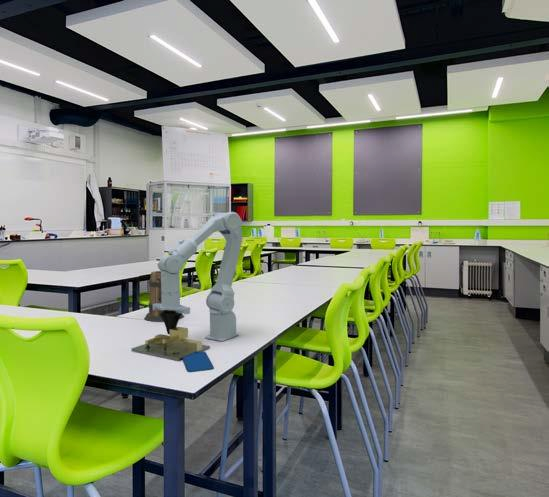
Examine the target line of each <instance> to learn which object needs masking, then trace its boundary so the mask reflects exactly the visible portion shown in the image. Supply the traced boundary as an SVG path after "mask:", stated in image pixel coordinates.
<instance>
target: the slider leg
mask: <svg viewBox="0 0 549 497" xmlns="http://www.w3.org/2000/svg"><path fill="white" fill-rule="evenodd" d="M169 336H170V337H169V338H166V339H163V340H162V343H164V351H166V350H167V346H166V343H168V342H171V341H174V340H182V339H189V328H188V327H183V326H177V327H176V328H172V329H170V335H169Z"/></svg>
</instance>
